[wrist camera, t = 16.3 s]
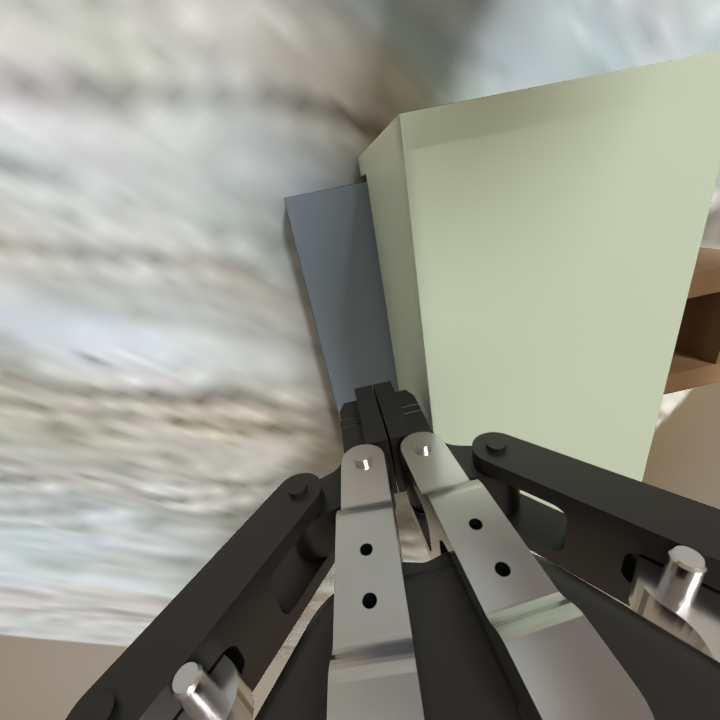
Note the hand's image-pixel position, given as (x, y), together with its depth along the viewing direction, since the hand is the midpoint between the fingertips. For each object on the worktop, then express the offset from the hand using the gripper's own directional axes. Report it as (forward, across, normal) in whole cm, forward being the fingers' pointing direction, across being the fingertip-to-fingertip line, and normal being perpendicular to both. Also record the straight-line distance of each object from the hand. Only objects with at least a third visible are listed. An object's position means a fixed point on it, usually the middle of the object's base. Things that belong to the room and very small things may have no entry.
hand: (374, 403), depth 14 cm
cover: (+7, -6, 0) cm, 9 cm away
